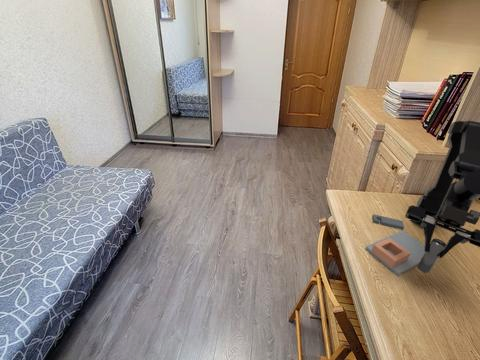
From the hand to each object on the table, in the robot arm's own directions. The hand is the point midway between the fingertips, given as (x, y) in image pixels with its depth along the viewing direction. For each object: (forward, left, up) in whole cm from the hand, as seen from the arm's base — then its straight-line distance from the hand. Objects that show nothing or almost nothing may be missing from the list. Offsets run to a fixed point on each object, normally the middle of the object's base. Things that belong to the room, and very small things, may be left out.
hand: (432, 254), depth 68 cm
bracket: (-18, -22, -14) cm, 32 cm away
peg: (-1, -1, -7) cm, 7 cm away
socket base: (-9, -11, -13) cm, 19 cm away
